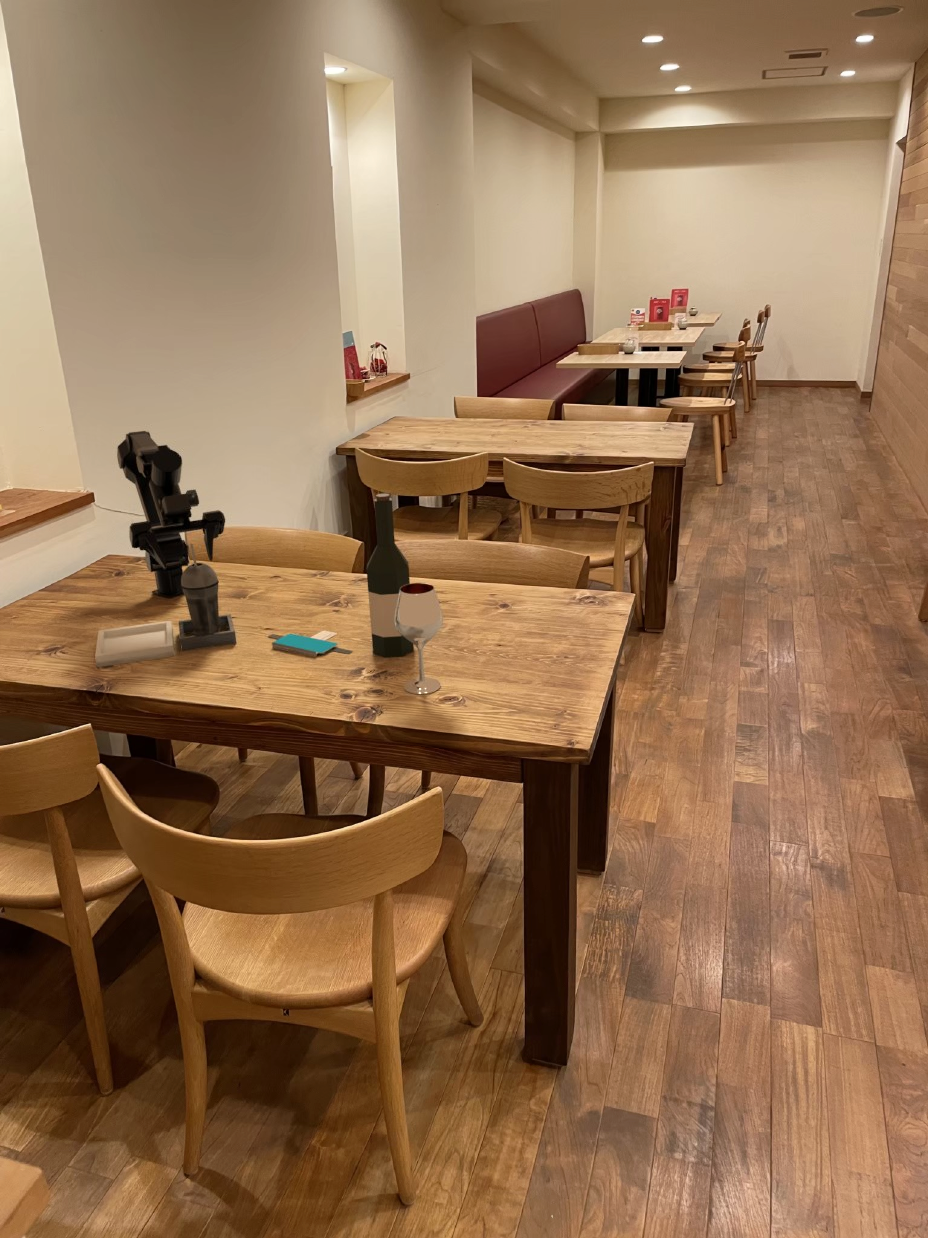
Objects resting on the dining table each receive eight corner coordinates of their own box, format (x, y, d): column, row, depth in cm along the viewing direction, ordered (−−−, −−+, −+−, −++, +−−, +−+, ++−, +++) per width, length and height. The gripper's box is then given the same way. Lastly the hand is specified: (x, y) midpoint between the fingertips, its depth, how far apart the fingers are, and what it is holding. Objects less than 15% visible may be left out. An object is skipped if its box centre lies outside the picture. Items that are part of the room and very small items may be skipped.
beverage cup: (231, 631, 183) (218, 536, 176) (219, 644, 176) (204, 547, 169) (197, 630, 184) (182, 536, 177) (183, 644, 177) (167, 547, 170)
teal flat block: (371, 643, 176) (370, 635, 175) (334, 665, 166) (333, 657, 166) (292, 627, 186) (291, 619, 185) (252, 647, 176) (251, 639, 175)
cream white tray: (97, 667, 168) (94, 656, 167) (100, 640, 181) (98, 630, 180) (174, 655, 172) (172, 645, 171) (173, 630, 185) (171, 620, 184)
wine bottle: (381, 661, 166) (369, 503, 155) (365, 646, 173) (352, 493, 162) (422, 652, 170) (413, 496, 159) (404, 637, 177) (394, 487, 166)
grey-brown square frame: (181, 651, 174) (180, 639, 173) (180, 632, 183) (178, 621, 182) (236, 643, 177) (234, 631, 176) (232, 625, 186) (230, 613, 185)
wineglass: (398, 678, 159) (392, 581, 153) (444, 675, 160) (440, 579, 153) (399, 698, 151) (392, 598, 145) (447, 695, 152) (442, 595, 145)
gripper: (122, 484, 176) (142, 551, 171) (216, 471, 184) (238, 535, 179) (122, 514, 185) (141, 579, 180) (212, 501, 194) (232, 563, 188)
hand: (188, 563), depth 182 cm, fingers open, 9 cm apart
